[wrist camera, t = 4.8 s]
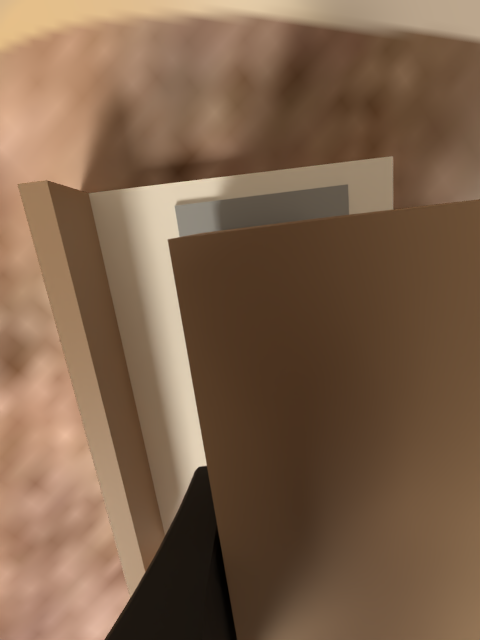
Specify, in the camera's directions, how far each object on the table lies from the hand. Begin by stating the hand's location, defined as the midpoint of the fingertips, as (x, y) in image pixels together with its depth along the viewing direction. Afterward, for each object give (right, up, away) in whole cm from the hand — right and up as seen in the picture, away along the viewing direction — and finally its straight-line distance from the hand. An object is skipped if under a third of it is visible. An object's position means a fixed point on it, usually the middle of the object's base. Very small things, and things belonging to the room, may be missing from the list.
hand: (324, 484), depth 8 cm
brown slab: (0, +1, +5) cm, 5 cm away
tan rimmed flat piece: (-1, +2, +7) cm, 8 cm away
